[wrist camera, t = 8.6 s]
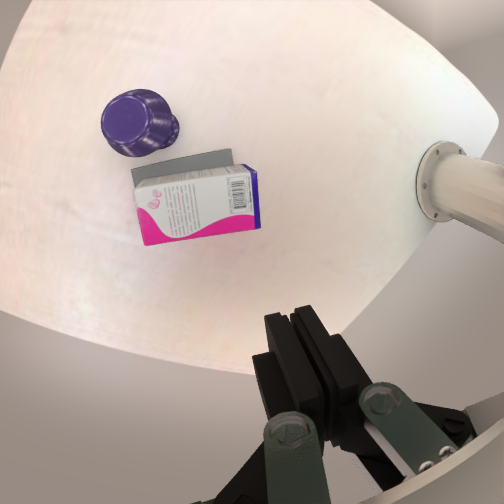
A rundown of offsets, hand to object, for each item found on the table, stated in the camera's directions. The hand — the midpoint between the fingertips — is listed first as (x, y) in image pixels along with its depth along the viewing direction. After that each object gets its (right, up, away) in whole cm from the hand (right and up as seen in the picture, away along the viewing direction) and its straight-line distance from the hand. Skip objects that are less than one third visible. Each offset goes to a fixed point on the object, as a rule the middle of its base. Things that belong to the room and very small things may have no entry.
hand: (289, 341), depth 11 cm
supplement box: (-1, +9, +20) cm, 22 cm away
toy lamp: (-11, +17, +19) cm, 27 cm away
